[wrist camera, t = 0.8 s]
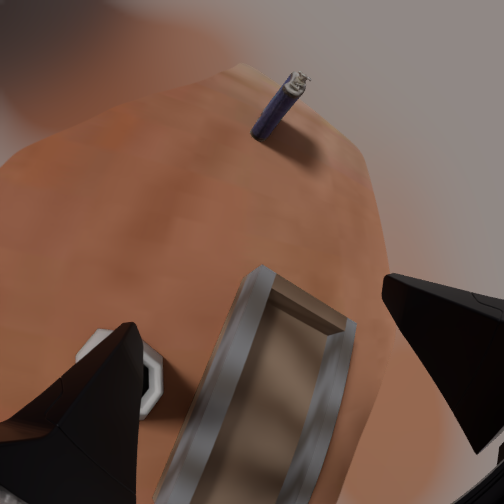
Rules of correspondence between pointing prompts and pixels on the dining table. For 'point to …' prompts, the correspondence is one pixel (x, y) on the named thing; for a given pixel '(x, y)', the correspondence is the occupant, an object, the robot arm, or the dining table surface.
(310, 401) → the grey rectangular tray
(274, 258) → the dining table surface
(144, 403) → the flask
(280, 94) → the flask
